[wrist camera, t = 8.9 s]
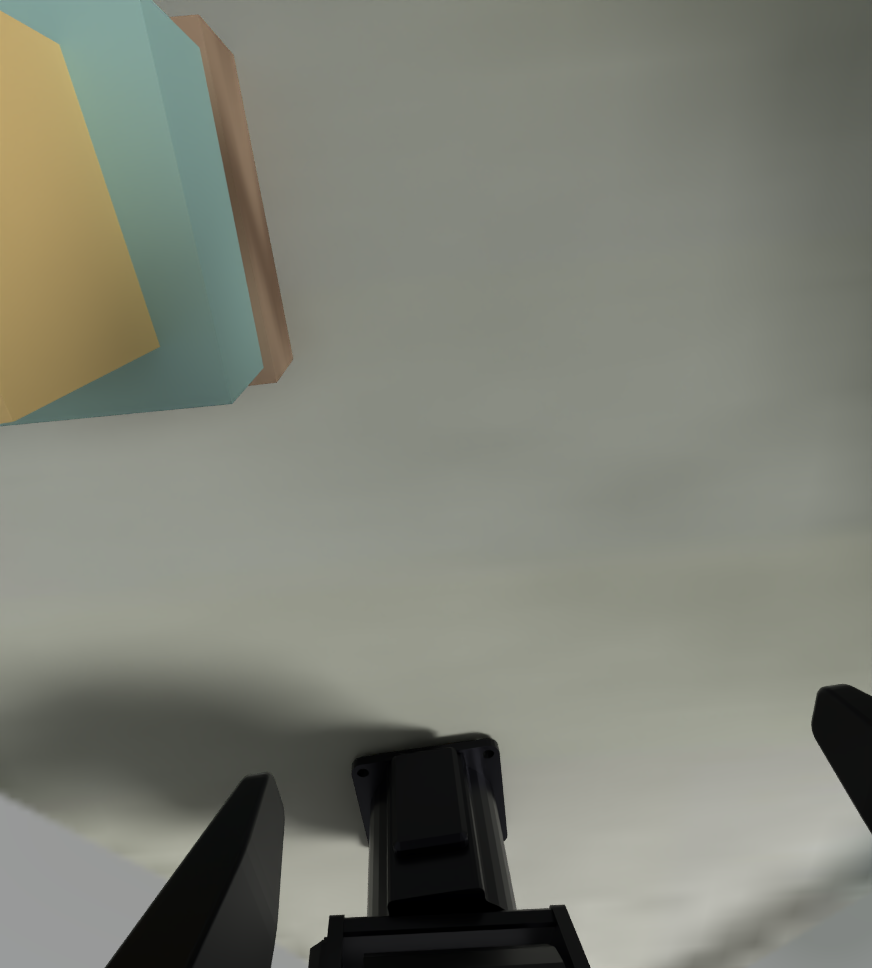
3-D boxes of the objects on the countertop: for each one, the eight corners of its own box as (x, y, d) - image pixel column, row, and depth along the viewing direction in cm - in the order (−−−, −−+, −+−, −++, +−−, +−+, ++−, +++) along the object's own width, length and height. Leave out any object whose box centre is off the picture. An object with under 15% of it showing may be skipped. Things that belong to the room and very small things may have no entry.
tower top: (263, 368, 15) (231, 404, 12) (-7, 393, 15) (-112, 436, 12) (199, 47, 12) (136, -15, 9) (-136, 70, 12) (-320, 13, 9)
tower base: (295, 356, 19) (276, 382, 16) (45, 384, 18) (-26, 417, 15) (236, 58, 15) (198, 14, 12) (-69, 87, 15) (-189, 49, 12)
